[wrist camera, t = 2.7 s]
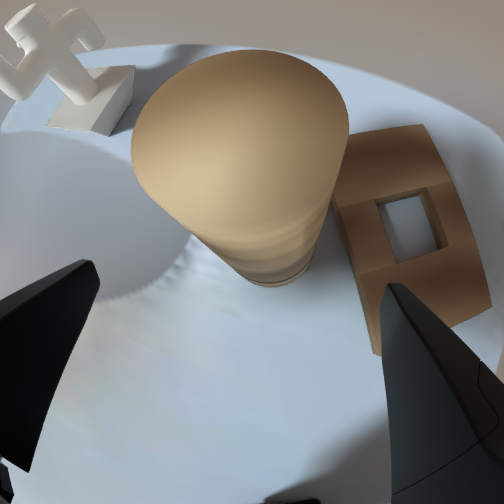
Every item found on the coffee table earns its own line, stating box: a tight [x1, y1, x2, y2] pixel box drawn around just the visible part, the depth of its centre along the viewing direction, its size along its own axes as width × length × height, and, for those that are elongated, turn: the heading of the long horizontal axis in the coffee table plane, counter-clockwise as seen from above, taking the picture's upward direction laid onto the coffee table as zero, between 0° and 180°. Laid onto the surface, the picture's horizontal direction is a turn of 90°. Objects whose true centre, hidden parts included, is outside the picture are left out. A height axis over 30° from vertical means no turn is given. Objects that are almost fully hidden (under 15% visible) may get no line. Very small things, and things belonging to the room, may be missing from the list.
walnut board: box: [330, 124, 492, 356], centre depth 17 cm, size 14×9×2 cm, turn 14°
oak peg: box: [131, 50, 349, 287], centre depth 12 cm, size 5×5×13 cm
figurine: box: [0, 3, 135, 137], centre depth 16 cm, size 7×9×15 cm
